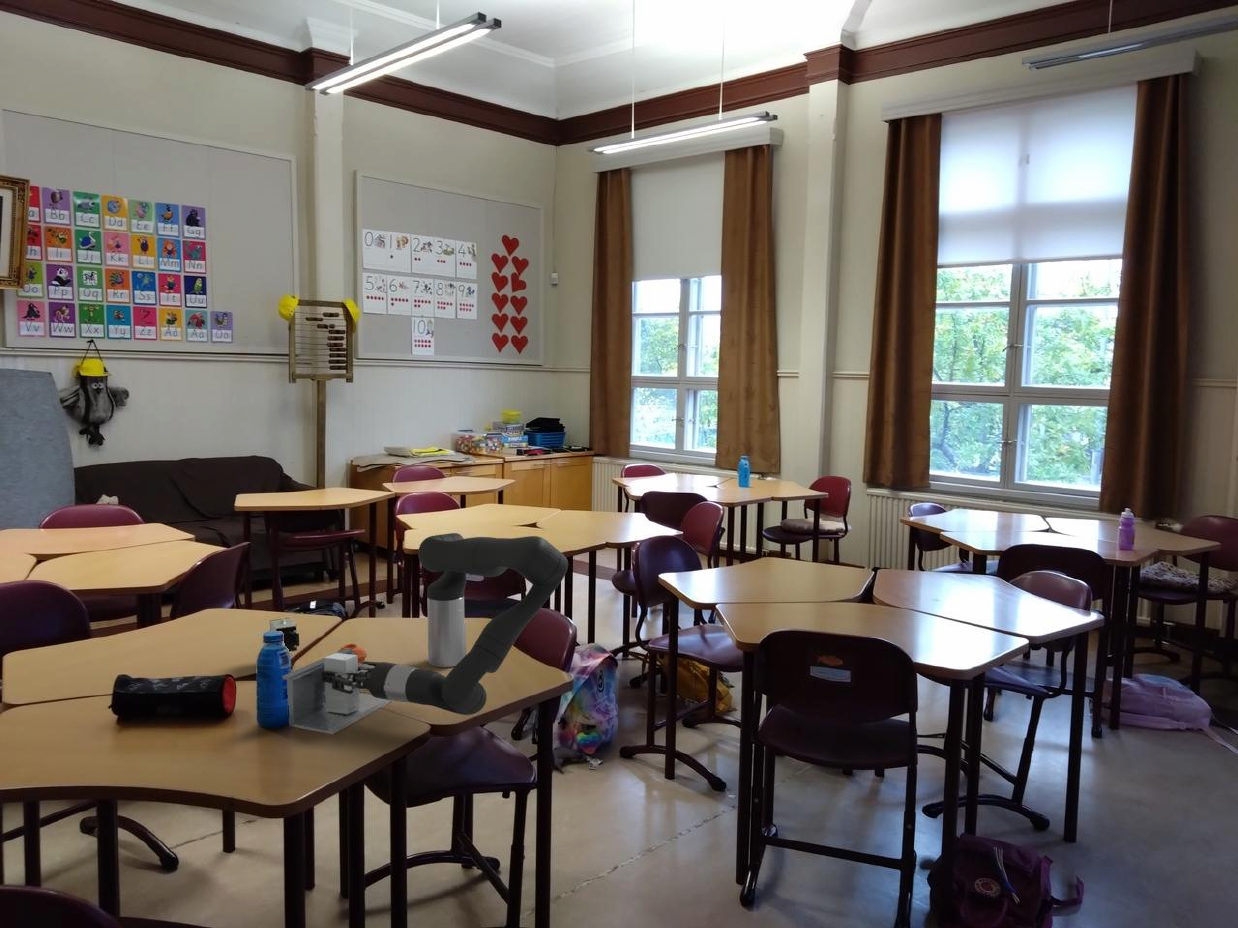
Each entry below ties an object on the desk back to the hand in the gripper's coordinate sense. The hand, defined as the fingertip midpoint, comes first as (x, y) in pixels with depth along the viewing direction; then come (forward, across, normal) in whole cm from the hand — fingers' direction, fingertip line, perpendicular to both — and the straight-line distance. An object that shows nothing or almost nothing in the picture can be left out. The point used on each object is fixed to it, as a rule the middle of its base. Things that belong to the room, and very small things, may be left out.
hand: (332, 671), depth 193 cm
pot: (+14, -24, +9) cm, 29 cm away
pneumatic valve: (+31, -20, +9) cm, 38 cm away
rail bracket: (-2, 0, +9) cm, 9 cm away
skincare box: (-3, 0, +8) cm, 9 cm away
